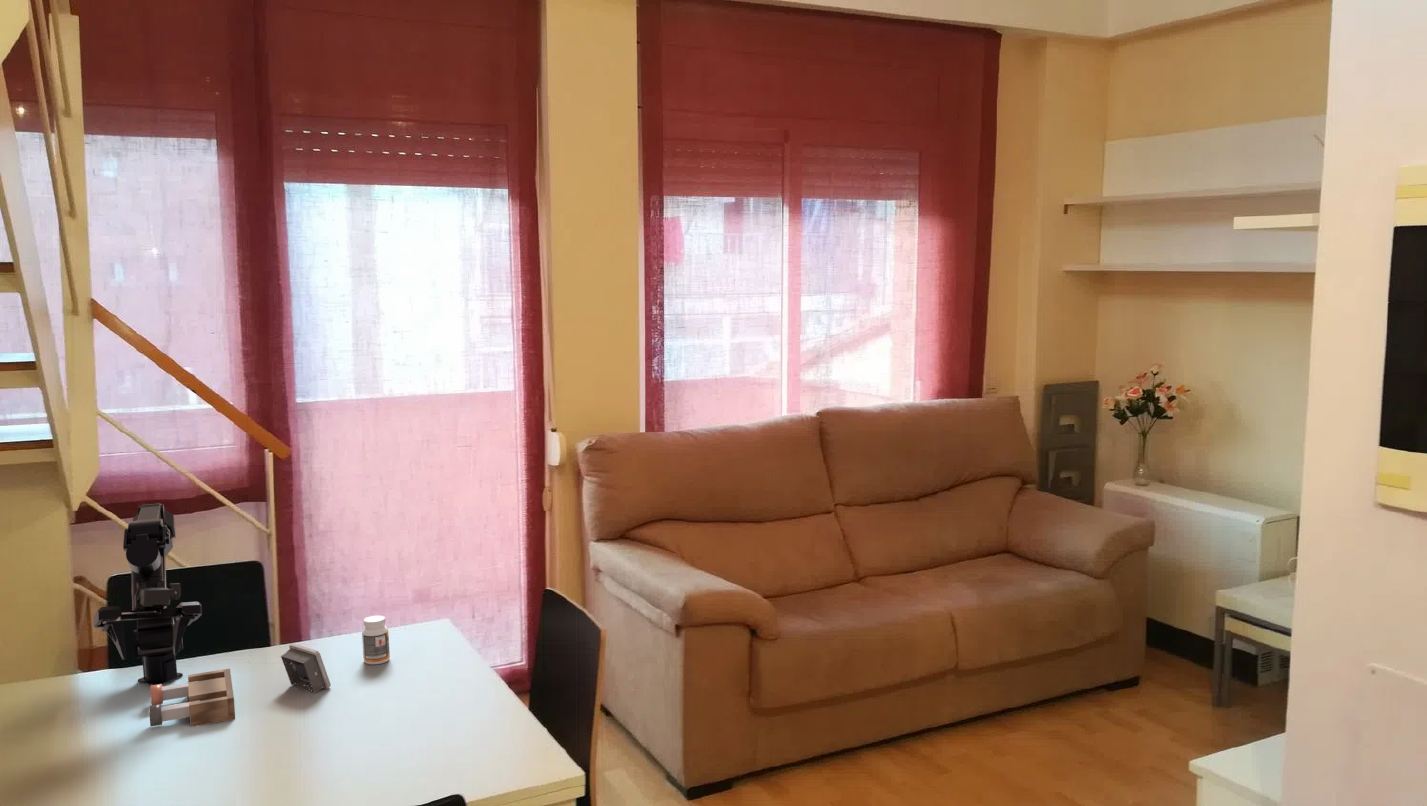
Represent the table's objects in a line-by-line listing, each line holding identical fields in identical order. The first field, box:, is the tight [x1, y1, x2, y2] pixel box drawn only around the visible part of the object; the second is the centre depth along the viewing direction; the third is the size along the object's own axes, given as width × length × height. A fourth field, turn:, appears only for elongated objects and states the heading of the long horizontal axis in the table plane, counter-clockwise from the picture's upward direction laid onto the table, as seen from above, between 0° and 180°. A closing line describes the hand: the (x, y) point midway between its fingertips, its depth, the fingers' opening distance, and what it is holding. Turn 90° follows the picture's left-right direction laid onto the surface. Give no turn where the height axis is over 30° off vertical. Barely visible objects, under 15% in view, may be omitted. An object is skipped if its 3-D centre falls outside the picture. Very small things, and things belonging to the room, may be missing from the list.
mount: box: [187, 667, 236, 727], centre depth 217 cm, size 8×17×4 cm, turn 27°
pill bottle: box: [361, 615, 391, 666], centre depth 241 cm, size 6×6×10 cm
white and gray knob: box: [148, 700, 200, 728], centre depth 209 cm, size 9×4×4 cm, turn 117°
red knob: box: [149, 681, 198, 705], centre depth 219 cm, size 9×4×4 cm, turn 117°
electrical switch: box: [280, 643, 332, 694], centre depth 225 cm, size 9×5×9 cm, turn 57°
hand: (150, 657), depth 211 cm, fingers open, 9 cm apart
